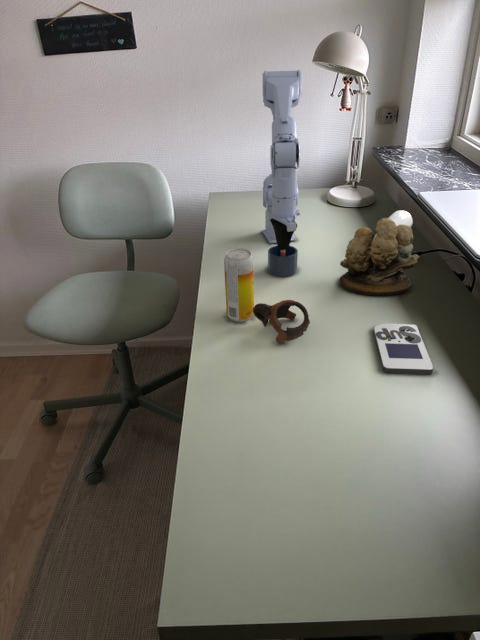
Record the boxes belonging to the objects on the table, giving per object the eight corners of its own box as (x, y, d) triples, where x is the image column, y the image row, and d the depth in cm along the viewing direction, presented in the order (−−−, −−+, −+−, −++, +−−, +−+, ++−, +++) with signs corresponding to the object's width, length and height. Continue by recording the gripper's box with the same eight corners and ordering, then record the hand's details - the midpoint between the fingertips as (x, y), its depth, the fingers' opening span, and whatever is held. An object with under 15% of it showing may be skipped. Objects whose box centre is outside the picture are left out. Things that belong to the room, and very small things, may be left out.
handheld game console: (383, 372, 89) (384, 367, 89) (372, 328, 102) (372, 322, 101) (433, 374, 89) (434, 368, 88) (415, 329, 101) (416, 323, 100)
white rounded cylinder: (381, 257, 135) (400, 235, 145) (399, 244, 130) (418, 223, 140) (365, 238, 135) (385, 218, 145) (383, 225, 130) (402, 205, 140)
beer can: (258, 311, 109) (257, 250, 101) (247, 325, 104) (245, 262, 96) (233, 306, 111) (231, 245, 103) (222, 319, 106) (218, 257, 98)
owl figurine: (408, 273, 122) (419, 207, 113) (420, 296, 112) (434, 226, 103) (336, 273, 123) (341, 208, 114) (342, 296, 113) (349, 227, 104)
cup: (265, 265, 128) (265, 246, 125) (292, 262, 129) (292, 243, 126) (272, 278, 122) (272, 258, 119) (300, 275, 123) (301, 255, 120)
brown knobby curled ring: (307, 320, 106) (316, 301, 99) (297, 358, 101) (306, 341, 94) (254, 304, 106) (260, 284, 99) (243, 341, 102) (247, 323, 95)
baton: (279, 255, 124) (280, 226, 120) (284, 255, 124) (285, 225, 120) (281, 257, 123) (281, 228, 119) (285, 257, 123) (286, 227, 119)
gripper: (310, 203, 109) (307, 258, 117) (291, 184, 121) (290, 235, 129) (279, 206, 108) (278, 261, 116) (264, 187, 120) (264, 238, 128)
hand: (282, 247), depth 122 cm, fingers closed on baton, 1 cm apart
